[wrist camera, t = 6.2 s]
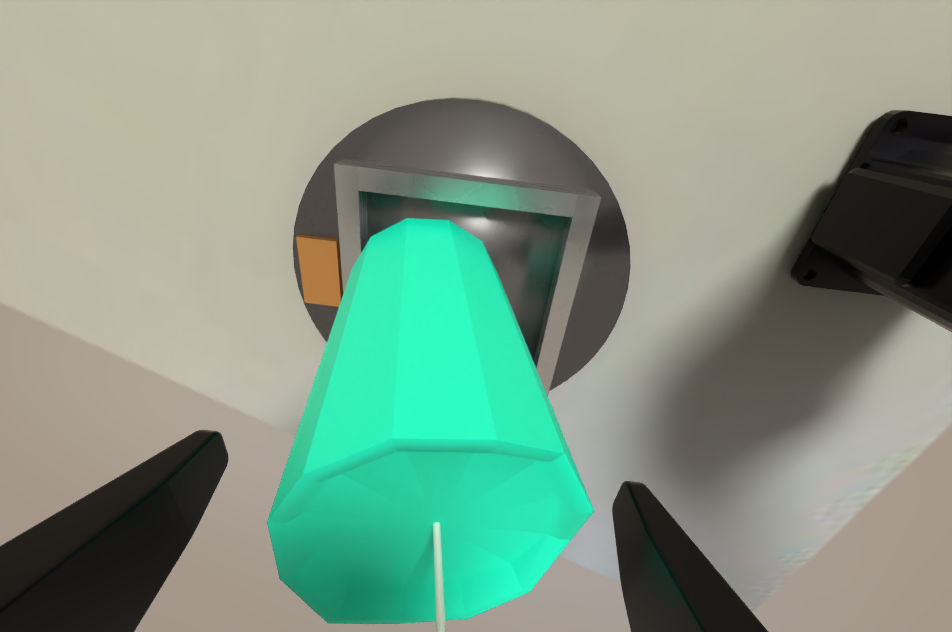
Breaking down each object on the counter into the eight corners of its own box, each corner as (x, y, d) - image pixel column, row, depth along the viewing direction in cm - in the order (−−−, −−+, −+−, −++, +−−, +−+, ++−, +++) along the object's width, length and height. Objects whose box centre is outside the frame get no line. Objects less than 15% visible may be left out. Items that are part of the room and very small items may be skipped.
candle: (424, 369, 18) (432, 736, 8) (317, 286, 15) (128, 689, 5) (526, 290, 17) (693, 620, 7) (429, 181, 14) (461, 469, 4)
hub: (671, 123, 14) (698, 129, 12) (578, 408, 21) (585, 440, 19) (284, 74, 14) (250, 72, 12) (320, 377, 21) (303, 406, 19)
